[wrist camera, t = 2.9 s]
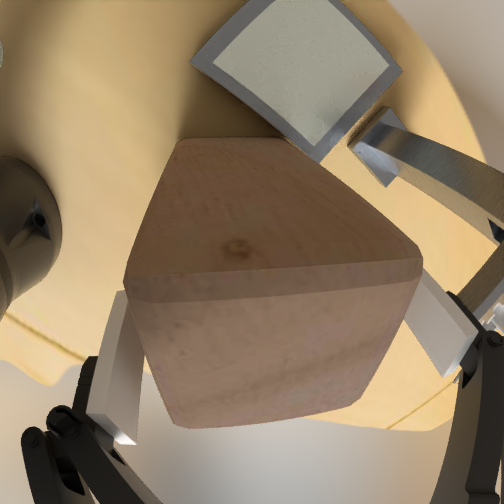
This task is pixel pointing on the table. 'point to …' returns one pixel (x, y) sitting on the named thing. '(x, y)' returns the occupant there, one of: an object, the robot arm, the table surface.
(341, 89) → the press
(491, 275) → the lever
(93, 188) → the table surface
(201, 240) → the wooden block
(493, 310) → the flag stand
